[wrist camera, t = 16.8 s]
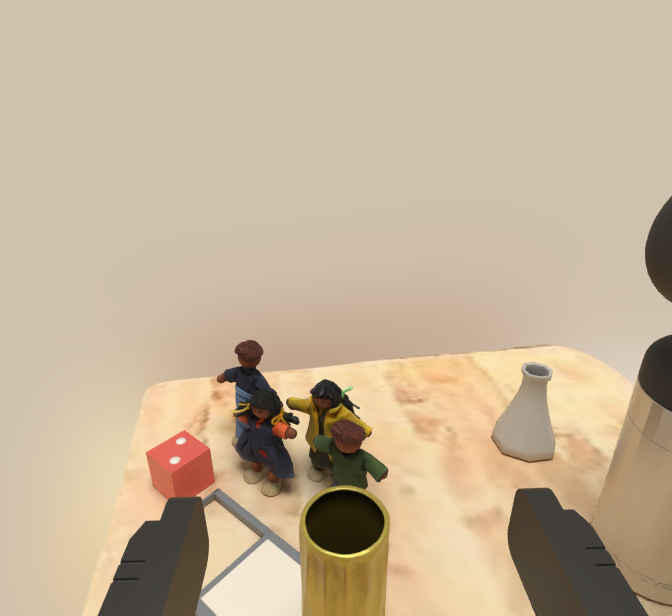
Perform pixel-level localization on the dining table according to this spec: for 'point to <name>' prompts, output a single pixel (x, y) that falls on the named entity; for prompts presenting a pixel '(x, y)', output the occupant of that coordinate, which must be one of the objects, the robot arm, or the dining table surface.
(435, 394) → the dining table surface
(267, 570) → the game board
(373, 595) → the vase
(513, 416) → the flask
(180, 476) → the red die
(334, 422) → the doll family
